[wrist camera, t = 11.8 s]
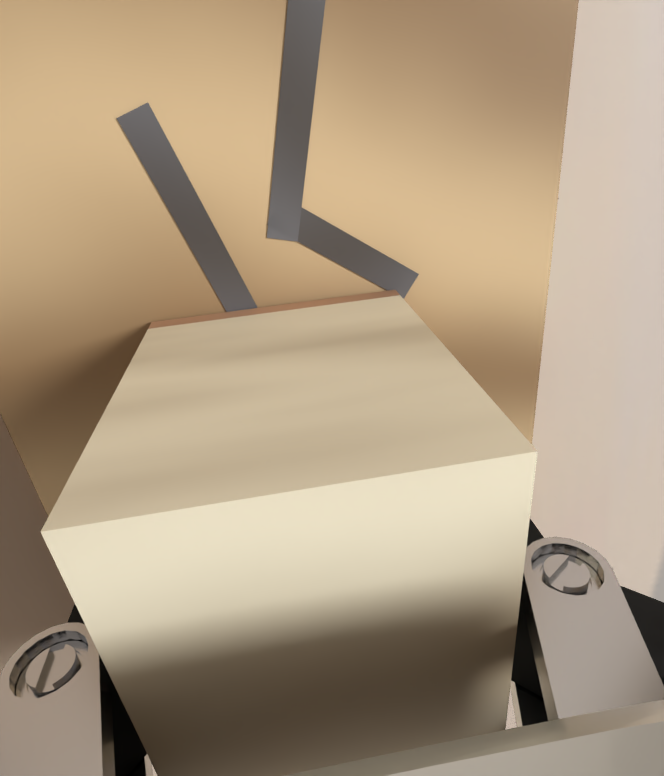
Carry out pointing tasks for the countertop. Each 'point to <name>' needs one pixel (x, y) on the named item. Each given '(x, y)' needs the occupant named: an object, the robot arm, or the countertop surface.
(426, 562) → the block
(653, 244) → the countertop surface
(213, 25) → the oak board
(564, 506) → the countertop surface
